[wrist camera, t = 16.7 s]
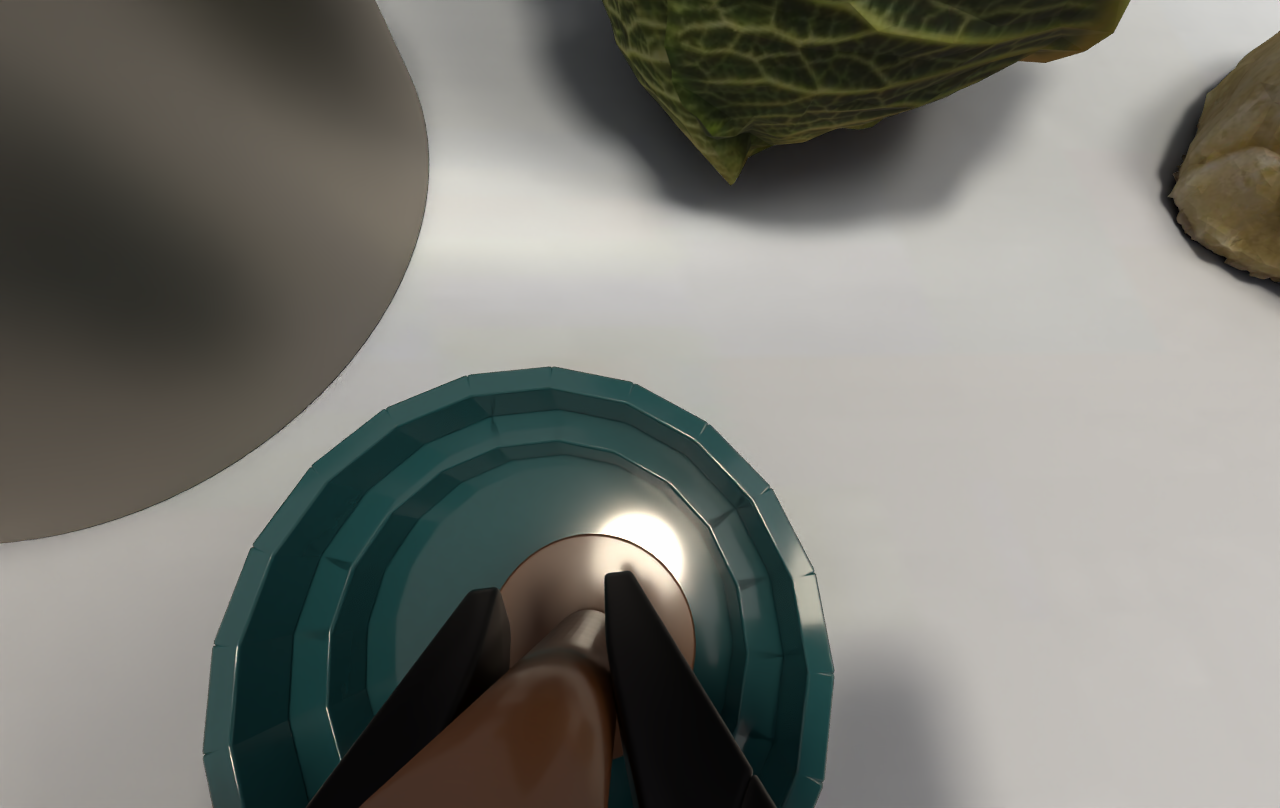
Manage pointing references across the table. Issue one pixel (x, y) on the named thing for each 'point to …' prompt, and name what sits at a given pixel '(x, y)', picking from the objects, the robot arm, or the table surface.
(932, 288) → the table surface
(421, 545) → the bowl
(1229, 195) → the pastry
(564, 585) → the rounded top peg stand
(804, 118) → the vegetable
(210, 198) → the container
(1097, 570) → the table surface
